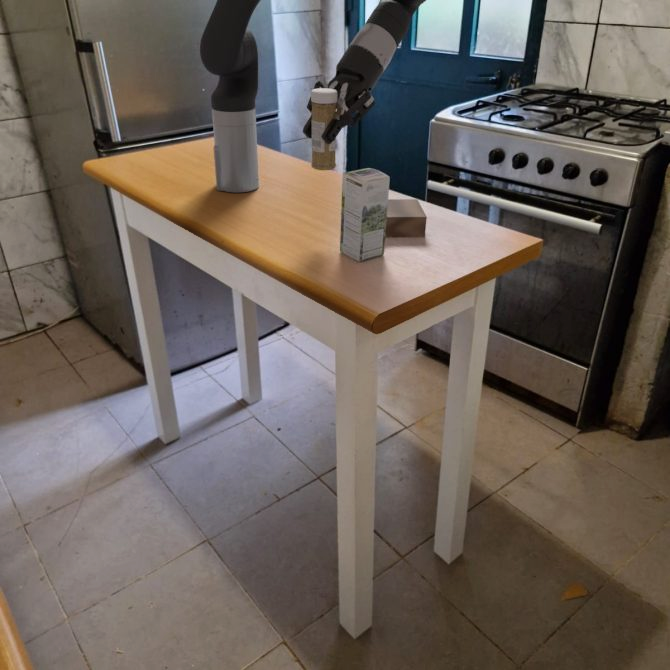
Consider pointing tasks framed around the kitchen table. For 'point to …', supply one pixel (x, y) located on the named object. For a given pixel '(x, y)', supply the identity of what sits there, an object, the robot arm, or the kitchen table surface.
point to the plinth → (405, 218)
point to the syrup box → (364, 213)
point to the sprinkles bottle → (322, 127)
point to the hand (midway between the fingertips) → (316, 137)
